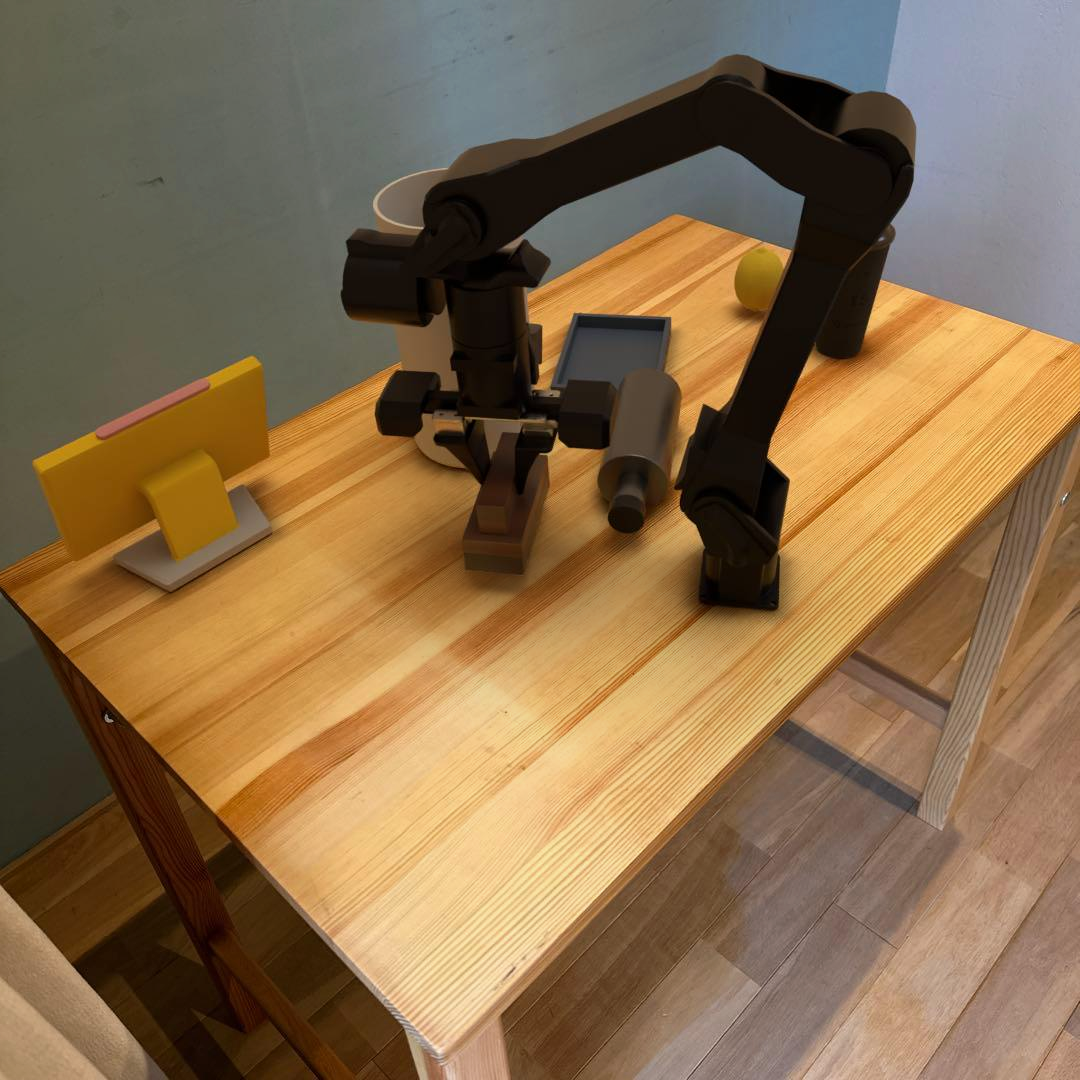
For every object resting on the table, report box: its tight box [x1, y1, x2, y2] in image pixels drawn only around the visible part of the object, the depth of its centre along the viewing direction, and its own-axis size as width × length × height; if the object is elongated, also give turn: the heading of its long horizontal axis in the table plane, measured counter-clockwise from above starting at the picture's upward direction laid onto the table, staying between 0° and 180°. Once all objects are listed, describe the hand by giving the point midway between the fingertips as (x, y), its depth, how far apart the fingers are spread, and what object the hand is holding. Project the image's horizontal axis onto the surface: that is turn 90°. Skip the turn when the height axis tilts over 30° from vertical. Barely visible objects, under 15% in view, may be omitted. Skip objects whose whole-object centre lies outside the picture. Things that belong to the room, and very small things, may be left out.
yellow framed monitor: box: [31, 355, 273, 593], centre depth 87 cm, size 20×8×16 cm, turn 134°
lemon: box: [733, 246, 784, 313], centre depth 114 cm, size 6×6×8 cm
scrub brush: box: [460, 432, 551, 577], centre depth 86 cm, size 12×5×6 cm, turn 169°
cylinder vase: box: [372, 167, 535, 469], centre depth 94 cm, size 12×12×25 cm
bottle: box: [596, 369, 683, 535], centre depth 93 cm, size 6×19×6 cm, turn 169°
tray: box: [549, 312, 673, 397], centre depth 109 cm, size 15×11×2 cm
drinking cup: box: [815, 223, 897, 360], centre depth 103 cm, size 8×8×20 cm
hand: (506, 490), depth 85 cm, fingers closed on scrub brush, 2 cm apart
